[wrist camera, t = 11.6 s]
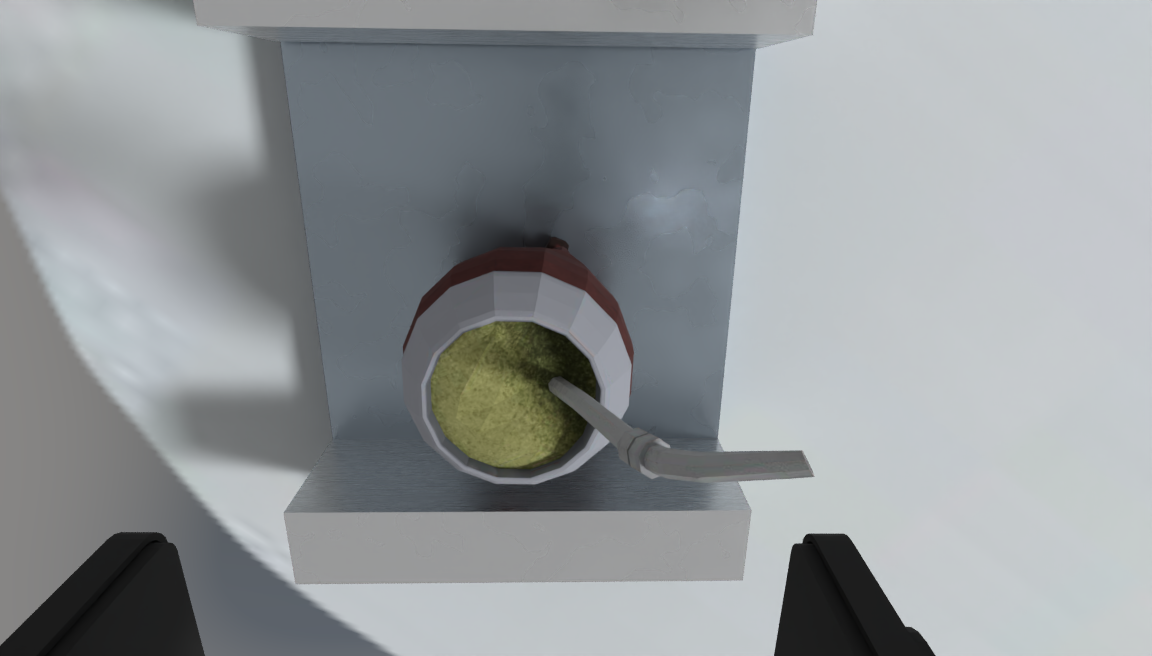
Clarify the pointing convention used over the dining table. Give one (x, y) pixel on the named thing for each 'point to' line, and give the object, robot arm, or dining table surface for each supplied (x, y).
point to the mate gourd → (541, 377)
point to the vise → (517, 219)
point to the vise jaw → (517, 21)
